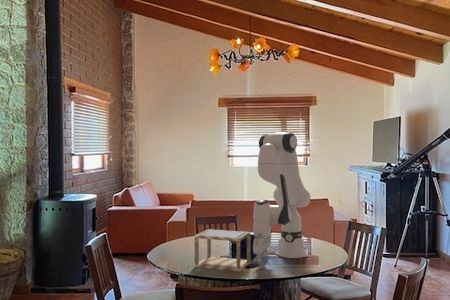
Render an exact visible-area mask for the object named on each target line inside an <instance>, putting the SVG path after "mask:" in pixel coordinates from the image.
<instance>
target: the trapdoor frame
mask: <svg viewBox="0 0 450 300" xmlns="http://www.w3.org/2000/svg"><path fill="white" fill-rule="evenodd" d="M209 230H214V229H213V228H212V229H210V228H208V229H206V230H203V231H201V232H199V233H197V234H194V268H200V269H208V270H220V271H227V270H228V271H229V272H237V271H238V272H239V273H240V272H241V271H242V270H244V269H246V267H247V266H249V265H250V264H251V231H244V232H245V234H243V235H241V236H240V237H238V238H234V237H220V236H207V235H200V234H203V233H205V232H207V231H209ZM216 230H217V231H228V229H227V230H223V229H216ZM230 231H231V232H243V230H241V231H240V230H239V231H238V230H230ZM199 239H200V240H201V239H202V240H206V241H207V243H206V244H207V245H206V247H207V248H206V249H207V250H206V253H207V254H206V256H207V257H205V258H203V259H202V260H199V255H200V254H199V250H200V249H199V248H200V247H199V245H200V244H199V241H200V240H199ZM244 239H246V259H244V258H243V259H242V258H241V241H242V240H244ZM213 240H215V241H216V240H217V241H228V242H232V241H236V243H235V246H236V252H235V253H236V257H235V258H230V257H229V258H228V257H217V256H212V241H213ZM228 271H227V272H228Z"/></svg>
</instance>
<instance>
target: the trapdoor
mask: <svg viewBox="0 0 450 300" xmlns="http://www.w3.org/2000/svg"><path fill="white" fill-rule="evenodd" d="M217 230H218V229H213V230H209V231H207V232H205V233H203V234H200V235H207V236H220V237H234V238H238V237H240V236H241V235H243V234H245V232H246V231H242V232H231V231H232V230H227V231H217ZM231 243H232V244H233V245H234V244H235V245H236V241H231Z"/></svg>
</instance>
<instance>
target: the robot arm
mask: <svg viewBox="0 0 450 300" xmlns="http://www.w3.org/2000/svg"><path fill="white" fill-rule="evenodd" d="M297 139H298V138H297V136H296V135H295V134H294V133H293V132H275V133H266V134H263V135H261V137H260V138H259V139H258V147H259V153H258V157H257V158H258V159H257V174H258V176H259V177H260V178H261V179H262V180H263V181H265V182H266V183H267V182H268V183H270V184H272V185H274V186H275V187H276V188H275V189H274V191H273V199H274V201H275V202H276V204H270V201H269V200H268V199H258V200H255V202H254V205H253V214H252V215H253V217H252V218H253V225H252V227H253V233H252V234H253V236H254V237H255V238H254V239H253V243H252V245H253V246H252V252H253V254H254V255H256V256H257V258H258V261H260V262H261V261H262V257H261V253H262V252H263V251H266V253H267V254H268V248H270V247H271V243H272V234H273V229H272V225H271V224H276V225H281V230H280V238H279V239H278V240H277V241H278V242H277V243H278V244H277V251H275V253H274V254H275V255H277V256H278V257H282V258H287V259H299V258H308V257H309V249H308V248H306V247H305V241H304V239H303V229H302V215H300V214H299V211H298V209H297V208H304V207H307V206H308V205H309V204H310V201H311V194H310V192H309V191H308V190H307V189H306V187H305V186H304V184H303V181H302V179H301V175H300V169H299V161H298V155H297V151H296V148H297V145H298V140H297Z"/></svg>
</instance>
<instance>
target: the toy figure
mask: <svg viewBox="0 0 450 300" xmlns="http://www.w3.org/2000/svg"><path fill="white" fill-rule="evenodd" d="M261 257H262V261H261V262H260V261H258V258H257V255H255V257H254V259H253V262H254V263H257V265H259V266H258V269H259V270H262V269H266V267H267V266H265V265H266V264H267V263H268V261H269V260H271V256H270V255H269V254H268V252H267V253H266V251H263V252H262V253H261Z"/></svg>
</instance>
